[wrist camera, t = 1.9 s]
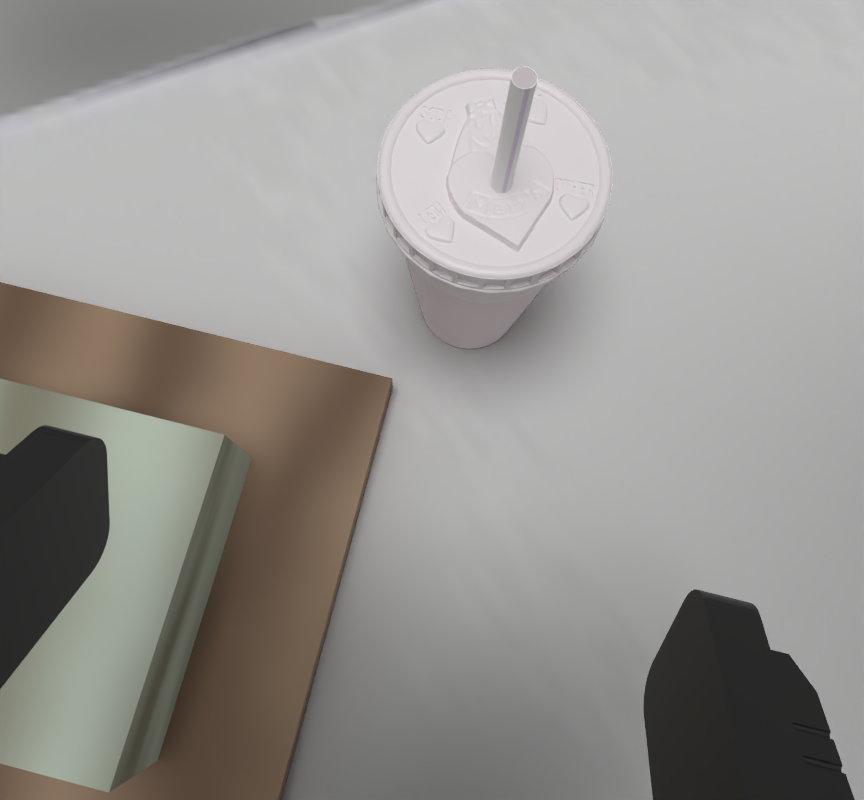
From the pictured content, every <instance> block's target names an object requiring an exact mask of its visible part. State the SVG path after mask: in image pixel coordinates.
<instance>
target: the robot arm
mask: <svg viewBox="0 0 864 800" xmlns="http://www.w3.org/2000/svg"><path fill="white" fill-rule="evenodd" d="M109 528H110V517H109V492H108V466H107V449H106V445H105V443H104V441H103V440H102V439H100V438H97V437H93V436H89V435H85V434H81V433H77V432H73V431H69V430H65V429H61V428H57V427H53V426H49V425H44V426H40V427H38V428H37V429H35V430H34V431H33V432H31V433H30V434H29V435H28V436H27V437H26V438H25V439H23V440H22V441H21V442H20V443H19V444H18V445H16V446H15V447H14V448H13V449H12V450H11V451H10V452H8V453H7V454H6V455H5V454H1V453H0V689H1V688H2V687H3V685H4V684H5V683H6V681H7V680H8V679H9V678H10V676H11V675H12V674H13V672H14V671H15V670H16V669H17V667H18V666H19V665H20V664H21V662H22V661H23V660H24V658H25V657H26V656H27V655H28V653H29V652H30V651H31V649H32V648H33V647H34V646H35V644H36V643H37V642H38V641H39V639H40V638H41V637H42V635H43V634H44V633H45V632H46V630H47V629H48V628H49V627H50V625H51V624H52V623H53V621H54V620H55V619H56V618H57V616H58V615H59V614H60V612H61V611H62V610H63V609H64V607H65V606H66V605H67V604H68V602H69V601H70V600H71V598H72V597H73V596H74V595H75V593H76V592H77V591H78V589H79V588H80V587H81V586H82V584H83V583H84V582H85V581H86V579H87V578H88V577H89V575H90V574H91V573H92V572H93V570H94V569H95V567H96V566H97V564H98V562H99V560H100V558H101V556H102V554H103V552H104V549H105V546H106V543H107V539H108V535H109ZM644 719H645V728H646V737H647V747H648V756H649V765H650V775H651V784H652V793H653V800H854V797H853V794H852V791H851V789H850V786H849V783H848V780H847V777H846V774H844V773H842V772H841V767H842V763H841V760H840V757H839V754H838V751H837V749H836V746H835V743H834V740H832V739H830V732H831V731H830V729H829V726H828V723H827V720H826V717H825V714H824V711H823V709H822V706H821V703H820V700H819V697H818V694H817V692H816V690H815V689H814V688H813V686H812V685H811V684H810V682H809V681H808V680H807V678H806V677H805V676H804V674H803V673H802V672H801V670H800V669H799V668H798V666H797V665H796V663H795V662H794V661H793V659H792V658H791V657H790V655H789V654H785V653H781V652H777V651H773V650H770V647H769V644H768V640H767V637H766V634H765V631H764V627H763V624H762V621H761V617H760V614H759V612H758V610H757V608H756V607H755V606H754V605H753V604H751V603H748V602H744V601H740V600H736V599H732V598H728V597H724V596H720V595H716V594H712V593H708V592H704V591H700V590H693V591H691V592H690V593H689V594H688V595H687V597H686V598H685V600H684V602H683V604H682V606H681V608H680V610H679V612H678V614H677V616H676V618H675V620H674V622H673V624H672V625H671V627H670V629H669V631H668V633H667V635H666V637H665V639H664V641H663V643H662V645H661V647H660V649H659V651H658V653H657V655H656V657H655V659H654V661H653V663H652V665H651V668H650V670H649V674H648V677H647V682H646V687H645V694H644Z"/></svg>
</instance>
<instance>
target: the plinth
mask: <svg viewBox="0 0 864 800" xmlns="http://www.w3.org/2000/svg"><path fill="white" fill-rule="evenodd" d="M392 388H393V385H392V378H387V377H383V376H379V375H375V374H371V373H367V372H363V371H359V370H355V369H351V368H347V367H343V366H339V365H335V364H331V363H326V362H322V361H318V360H314V359H310V358H306V357H302V356H298V355H294V354H290V353H286V352H282V351H278V350H274V349H269V348H265V347H261V346H257V345H253V344H249V343H245V342H241V341H237V340H233V339H229V338H225V337H221V336H217V335H212V334H208V333H204V332H200V331H196V330H192V329H188V328H184V327H180V326H176V325H172V324H168V323H164V322H160V321H156V320H151V319H147V318H143V317H139V316H135V315H131V314H127V313H123V312H119V311H115V310H111V309H107V308H103V307H99V306H94V305H90V304H86V303H82V302H78V301H74V300H70V299H66V298H62V297H58V296H54V295H50V294H46V293H42V292H37V291H33V290H29V289H25V288H21V287H17V286H13V285H9V284H5V283H1V282H0V453H1V454H5V455H6V454H7V453H8V452H10V451H11V450H12V449H13V448H14V447H15V446H16V445H18V444H19V443H20V442H21V441H22V440H23V439H25V438H26V437H27V436H28V435H29V434H30V433H31V432H33V431H34V430H35V429H37V428H38V427H40V426H44V425H49V426H53V427H57V428H61V429H65V430H69V431H73V432H77V433H81V434H85V435H89V436H93V437H97V438H100V439H102V440H103V441H104V443H105V445H106V449H107V466H108V492H109V517H110V528H109V535H108V539H107V543H106V546H105V549H104V552H103V554H102V556H101V558H100V560H99V562H98V564H97V566H96V567H95V569H94V570H93V572H92V573H91V574H90V575H89V577H88V578H87V579H86V581H85V582H84V583H83V584H82V586H81V587H80V588H79V589H78V591H77V592H76V593H75V595H74V596H73V597H72V598H71V600H70V601H69V602H68V604H67V605H66V606H65V607H64V609H63V610H62V611H61V612H60V614H59V615H58V616H57V618H56V619H55V620H54V621H53V623H52V624H51V625H50V627H49V628H48V629H47V630H46V632H45V633H44V634H43V635H42V637H41V638H40V639H39V641H38V642H37V643H36V644H35V646H34V647H33V648H32V649H31V651H30V652H29V653H28V655H27V656H26V657H25V658H24V660H23V661H22V662H21V664H20V665H19V666H18V667H17V669H16V670H15V671H14V672H13V674H12V675H11V676H10V678H9V679H8V680H7V681H6V683H5V684H4V685H3V687H2V688H1V689H0V800H281V799H282V795H283V791H284V787H285V784H286V780H287V776H288V773H289V769H290V765H291V762H292V758H293V754H294V750H295V747H296V743H297V739H298V736H299V732H300V728H301V725H302V721H303V717H304V714H305V710H306V706H307V702H308V699H309V695H310V691H311V688H312V684H313V680H314V677H315V673H316V669H317V665H318V662H319V658H320V654H321V651H322V647H323V643H324V640H325V636H326V632H327V628H328V625H329V621H330V617H331V614H332V610H333V606H334V603H335V599H336V595H337V591H338V588H339V584H340V580H341V577H342V573H343V569H344V566H345V562H346V558H347V554H348V551H349V547H350V543H351V540H352V536H353V532H354V529H355V525H356V521H357V518H358V514H359V510H360V506H361V503H362V499H363V495H364V492H365V488H366V484H367V481H368V477H369V473H370V469H371V466H372V462H373V458H374V455H375V451H376V447H377V444H378V440H379V436H380V432H381V429H382V425H383V421H384V418H385V414H386V410H387V407H388V403H389V399H390V395H391V392H392Z"/></svg>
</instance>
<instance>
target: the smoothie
mask: <svg viewBox="0 0 864 800" xmlns="http://www.w3.org/2000/svg"><path fill="white" fill-rule="evenodd" d="M612 183H613V173H612V163H611V158H610V154H609V150H608V147H607V144H606V141H605V139H604V137H603V135H602V133H601V131H600V129H599V127H598V126H597V124H596V122H595V121H594V120H593V118H592V117H591V116H590V114H589V113H588V112H587V111H586V110H585V109H584V107H583V106H582V105H581V104H580V103H579V102H577V101H576V100H575V99H574V98H573V97H572V96H570V95H569V94H568V93H566V92H565V91H564V90H562V89H560V88H559V87H557V86H556V85H554V84H552V83H550V82H548V81H546V80H543V79H541V78H539V77H538V76H537V73H536V72H535V71H534V70H533V69H532V68H530V67H527V66H521V67H518V68H516V69H515V70H507V69H494V68H488V69H475V70H468V71H463V72H458V73H455V74H452V75H449V76H446V77H444V78H441V79H439V80H437V81H435V82H433V83H431V84H429V85H427V86H426V87H424V88H423V89H421V90H420V91H418V92H417V93H416V94H414V95H413V96H412V97H411V98H410V99H409V100H408V101H407V102H406V103H405V104H404V105H403V106H402V107H401V108H400V109H399V110H398V112H397V113H396V114H395V116H394V117H393V119H392V120H391V122H390V124H389V126H388V128H387V129H386V132H385V134H384V137H383V139H382V143H381V146H380V150H379V156H378V166H377V177H376V184H377V199H378V207H379V210H380V213H381V215H382V218H383V221H384V223H385V226H386V229H387V232H388V233H389V235H390V236H391V238H392V239H393V240H394V242H395V243H396V244H397V246H398V247H399V248H400V250H401V251H402V253H403V254H404V255H405V258H406V261H407V265H408V268H409V271H410V274H411V278H412V281H413V284H414V288H415V291H416V294H417V297H418V301H419V304H420V307H421V310H422V314H423V317H424V319H425V322H426V324H427V326H428V327H429V329H430V330H431V331H432V332H433V333H434V334H435V335H436V336H437V337H438V338H439V339H441V340H442V341H443V342H445V343H447V344H449V345H452V346H455V347H458V348H464V349H475V348H481V347H485V346H488V345H490V344H492V343H494V342H496V341H497V340H498V339H500V338H501V337H502V336H503V335H504V334H505V333H506V332H507V331H508V330H509V328H510V327H511V326H512V325H513V323H514V322H515V321H516V320H517V319H518V317H519V316H520V315H521V314H522V313H523V311H524V310H525V309H526V308H527V307H528V305H529V304H530V303H531V302H532V300H533V299H534V298H535V297H536V296H537V294H538V293H539V292H540V291H541V290H542V288H543V287H544V286H545V285H546V284H547V283H548V282H550V281H551V280H553V279H555V278H556V277H558V276H559V275H561V274H562V273H564V272H565V271H567V270H568V269H570V268H572V267H573V266H574V265H575V264H576V263H577V262H578V260H579V259H580V258H581V257H582V256H583V255H584V254H585V252H586V251H587V250H588V249H589V248H590V247H591V246H592V244H593V242H594V240H595V238H596V236H597V233H598V231H599V229H600V227H601V225H602V223H603V220H604V216H605V214H606V211H607V208H608V205H609V202H610V198H611V192H612Z"/></svg>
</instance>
